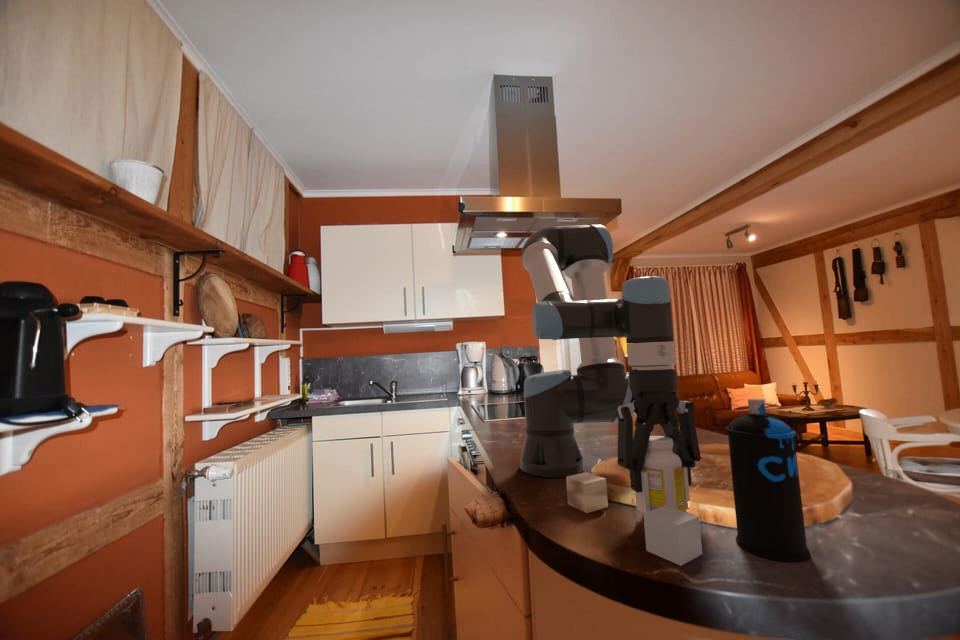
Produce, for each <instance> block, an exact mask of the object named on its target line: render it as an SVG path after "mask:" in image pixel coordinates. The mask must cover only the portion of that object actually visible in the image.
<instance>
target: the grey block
mask: <svg viewBox="0 0 960 640" xmlns="http://www.w3.org/2000/svg"><path fill="white" fill-rule="evenodd" d="M700 524H701V521H700V516H699V515H698V514H694V513H691V512H687V511H686V512H685V511H681V510H678V509H675V508H672V507H669V506H666V505H664V506H662V507H659V508H657V509H654V510H652V511H649V512H647V513H644V515H643V525H644V526H643V527H644V537H645V549H646V552H648V553H651V554H653V555H655V556H658V557H660V558H662V559H665V560H667V561H670V563H674V564H676V565H678V566H683V565H685V564H687V563H689V562H691V561H693V560H694V559H696V558H698V557H700V556H701V555H703V546H702V534H701V525H700Z"/></svg>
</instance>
